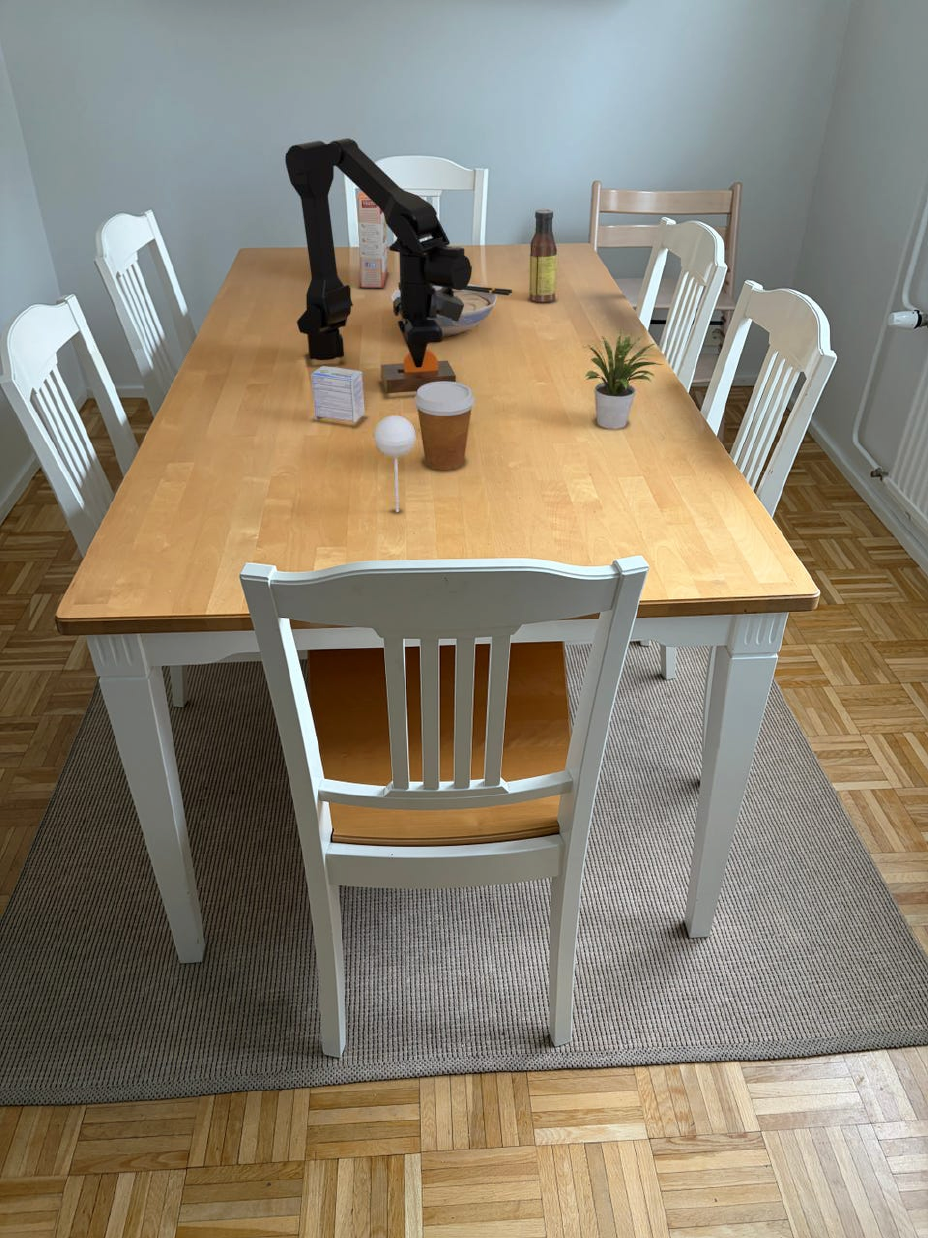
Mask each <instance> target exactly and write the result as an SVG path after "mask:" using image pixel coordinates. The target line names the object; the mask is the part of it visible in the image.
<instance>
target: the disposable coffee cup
mask: <svg viewBox="0 0 928 1238" xmlns="http://www.w3.org/2000/svg"><path fill="white" fill-rule="evenodd" d="M413 401H414V405H415V406H416V409H417V415H418V421H419V422H418V423H419V428H420V436H421V442H422V448H423V455H424V463H425V465H426V466H427V467H429V468H431V469H435V470H439V471H450V470H456V469H458V468H460V467H461V466H463V465H464V463H465V462H464V461H465V455H466V450H467V449H466V447H467V441H468V434H469V426H470V421H471V415H472V408H473V407H474V404H475V401H476V398H475V396H474V395H473V391H472V389H471V388H470V387H469V386H468V385H465V384H463V383H459V382H457V381H456V382H446V381H444V382H432V383H428V384H425V385H423V386H421V387H420V388H419V389H418V390H417V391H416V395H415V396H414V398H413Z"/></svg>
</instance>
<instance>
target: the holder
mask: <svg viewBox="0 0 928 1238" xmlns="http://www.w3.org/2000/svg"><path fill="white" fill-rule="evenodd" d="M437 361H438V371H424V372H409V373H405V372H404V368H403V363H404V362H402V363H401V362H400V363H388V364H380V378H381V381H382V384H383V386H384V389H385V392H386V394H397V393H398V394H399V393H411V392H413V393H414V392H417V390H418V389H419V388H420V387H421V386H423V385H425V384H428V383H432V382H444V381H446V382H456V383H457V375H456V374H455V371H454V370H453V368H452V366H451V365H450V362H449V361H448V360H437Z"/></svg>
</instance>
